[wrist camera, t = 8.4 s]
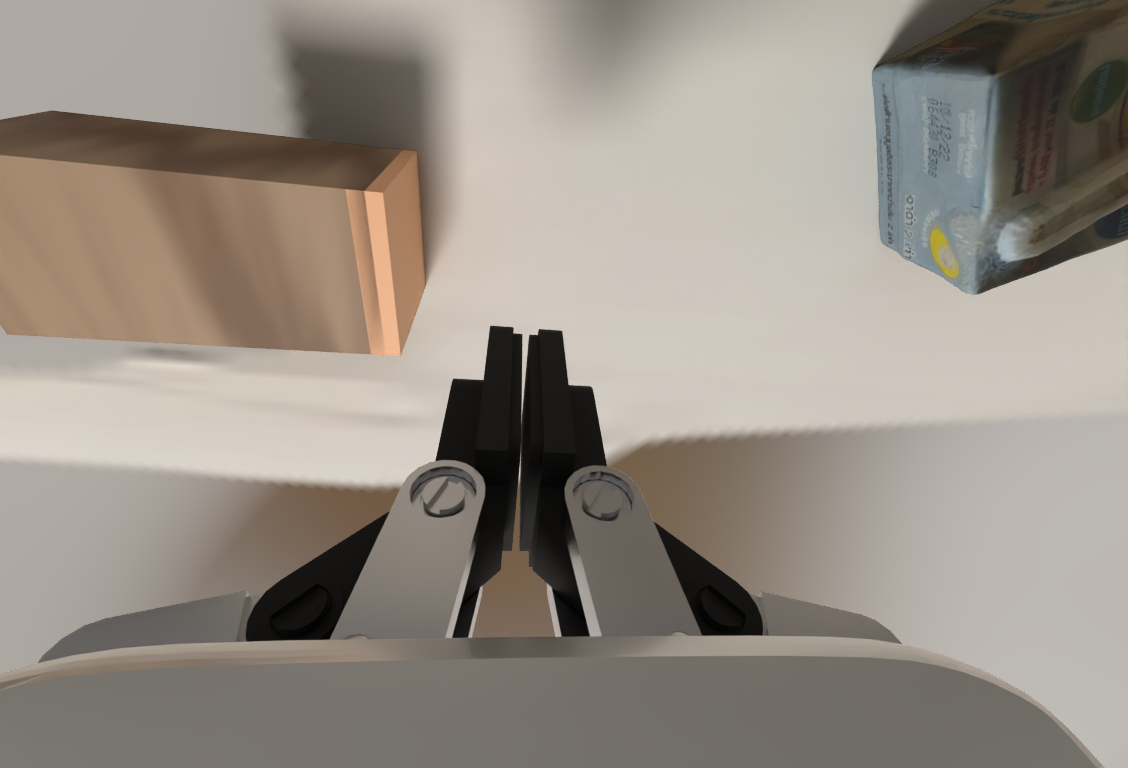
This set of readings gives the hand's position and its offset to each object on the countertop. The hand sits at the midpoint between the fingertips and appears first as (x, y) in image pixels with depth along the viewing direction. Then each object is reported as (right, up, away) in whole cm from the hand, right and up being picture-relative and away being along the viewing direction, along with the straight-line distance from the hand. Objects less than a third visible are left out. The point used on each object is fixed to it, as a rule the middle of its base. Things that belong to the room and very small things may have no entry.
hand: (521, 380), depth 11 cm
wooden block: (-5, +5, +6) cm, 9 cm away
